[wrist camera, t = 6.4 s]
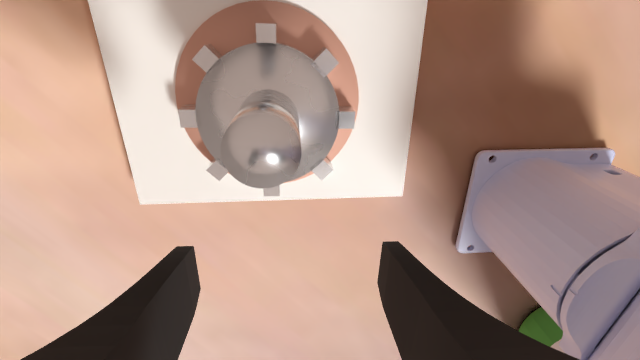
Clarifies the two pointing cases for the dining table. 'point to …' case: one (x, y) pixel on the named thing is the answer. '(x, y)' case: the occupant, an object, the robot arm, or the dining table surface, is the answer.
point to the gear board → (240, 29)
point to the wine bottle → (542, 329)
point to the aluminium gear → (267, 111)
